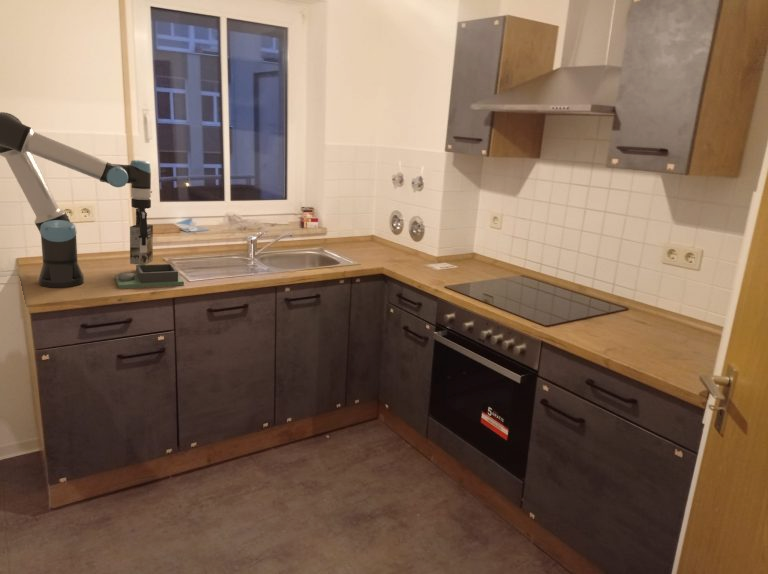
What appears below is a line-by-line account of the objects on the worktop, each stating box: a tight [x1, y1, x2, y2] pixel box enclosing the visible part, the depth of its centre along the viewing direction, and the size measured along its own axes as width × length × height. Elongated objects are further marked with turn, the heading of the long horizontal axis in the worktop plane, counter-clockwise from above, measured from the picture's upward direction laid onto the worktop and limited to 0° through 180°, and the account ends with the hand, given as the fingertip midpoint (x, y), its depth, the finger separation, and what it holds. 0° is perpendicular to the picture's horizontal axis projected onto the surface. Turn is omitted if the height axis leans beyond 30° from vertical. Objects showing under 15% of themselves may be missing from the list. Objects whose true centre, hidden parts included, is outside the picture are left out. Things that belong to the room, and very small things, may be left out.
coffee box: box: [129, 224, 154, 265], centre depth 244 cm, size 9×6×16 cm
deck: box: [114, 263, 185, 290], centre depth 232 cm, size 24×16×6 cm, turn 119°
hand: (141, 249), depth 245 cm, fingers closed on coffee box, 10 cm apart
